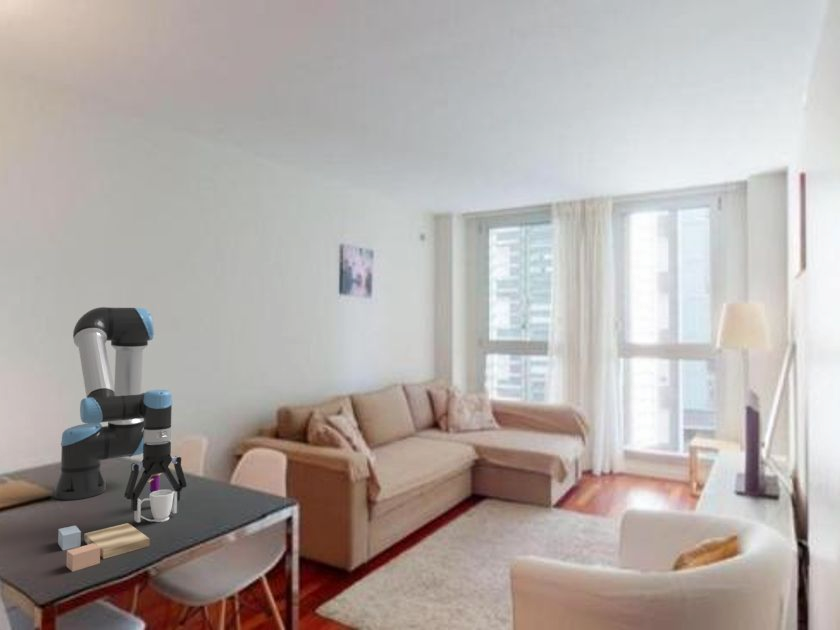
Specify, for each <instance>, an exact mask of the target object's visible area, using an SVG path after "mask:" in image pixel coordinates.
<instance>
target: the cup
mask: <svg viewBox="0 0 840 630" xmlns="http://www.w3.org/2000/svg"><path fill="white" fill-rule="evenodd" d="M173 490H174V489H170V488H169V489H159V490H157V491H154V492H151V491H150V493H149V495H148V497H145V498H143V499H141V504H142V503H144V501H149V503H150V504H149V506H151V508H150V510H151V514H152V517H153V519H150V518H147V517H145V516H143V515H142V514H141V518H142V519H144V520H146V521H148V522H156V523H163V522H167V521H168V520H169V519H170V515H171V513H172V512H171V508H172V503H173V497H174V491H173ZM141 518H140V519H141Z"/></svg>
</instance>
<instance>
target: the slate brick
mask: <svg viewBox="0 0 840 630" xmlns="http://www.w3.org/2000/svg"><path fill="white" fill-rule="evenodd" d="M57 532H58V535H57V538H58V539H57V544H58V545H59V547H60V549H61V550H62V551H67V550H71V549H75V548H78V547H82V546H81V543H82V541H81V540H82V539H81V538H82V537H81V536H82V531H81V530H80V529H79V527H78V526H77V525H71V526H67V527H62V528H58V531H57Z"/></svg>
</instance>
